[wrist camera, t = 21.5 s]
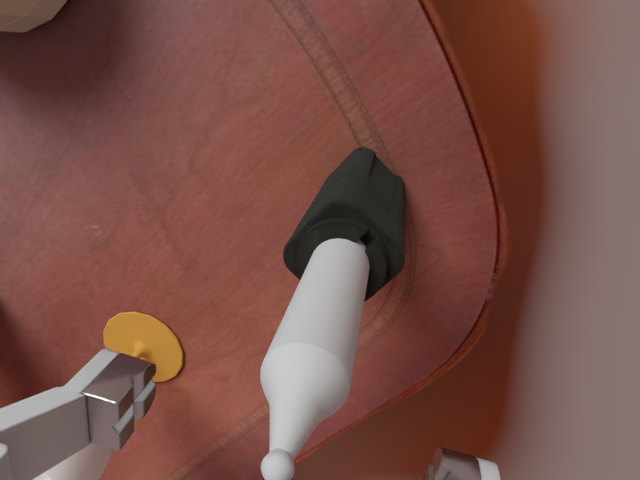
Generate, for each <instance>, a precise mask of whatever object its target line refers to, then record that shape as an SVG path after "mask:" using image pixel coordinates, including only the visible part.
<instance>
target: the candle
mask: <svg viewBox="0 0 640 480" xmlns="http://www.w3.org/2000/svg"><path fill="white" fill-rule="evenodd" d="M404 212H405V187H404V182H403V180H402V178H401V177H400V176H395V175H394V174H393V173H392V172H391V171H390V170H389V169H388V168H387V167H386V166H385V165H384V164H383V163H382V162H381V161H380V160H379V159H378V158H377V157H376V156H375V152H374V151H372V150H371V149H369V148H358V149H356V150H354V151H353V152H352V153H351V154H350V155H349V156H348V157H347V158H346V159H345V160H344V161H343V162H342V163H341V165H340V166H339V167H338V168H337V169H336V170H335V171H334V172H333V173H332V174H331V175H330V176H329V177H328V179H327V180H326V181H325V183H324V185H323V186H322V188H321V189H320V191H319V193H318V194H317V196H316V198H315V199H314V201H313V202H312V204H311V206H310V207H309V209H308V210H307V212H306V214H305V215H304V217H303V218H302V220H301V222H300V223H299V225H298V226H297V228H296V230H295V231H294V233H293V234H292V236H291V238H290V239H289V241H288V242H287V244H286V246H285V248H284V251H283V259H284V263H285V265H286V266H287V268H288V269H289V270H290V271H291V272H292V273H293V274H294V275H295V276H296V277H297V278H299V279H300V282H299V284H298V287H297V289H296V291H295V293H294V295H293V297H292V300H291V302H290V304H289V306H288V308H287V310H286V313H285V315H284V317H283V319H282V321H281V323H280V326H279V328H278V330H277V332H276V334H275V336H274V339H273V341H272V343H271V345H270V347H269V350H268V352H267V354H266V356H265V358H264V361H263V363H262V366H261V372H260V381H261V384H262V388H263V391H264V394H265V396H266V399H267V401H268V403H269V405H270V452H269V453H268V454H267V455H266V456H265V457H264V459H263V461H262V463H261V472H262V475H263V477H264V479H265V480H291V478H292V477H293V475H294V462H293V460H294V458H295V457H296V456H297V454H298V453H299V451H300V450H301V448H302V447H303V445H304V444H305V442H306V441H307V439H308V438H309V436H310V435H311V434H312V432H313V431H314V429H315V428H316V426H317V425H318V423H319V422H321V421H322V420H324V419H326V418H327V417H329V416H331V415H332V414H333V413H335V412H336V411H337V410H338V409H339V408H341V407H342V406H343V404H344V402H345V400H346V398H347V396H348V394H349V391H350V385H351V379H352V373H353V366H354V360H355V354H356V348H357V342H358V336H359V330H360V324H361V318H362V312H363V306H364V302H365V301H366V300H367V299H369V298H370V297H372V296H373V295H374V294H375V293H376V292H377V291H378V290H380V289H381V288H382V287H383V286H384V285H386V284H387V283H388V282H389V281H390V280H392V279H393V278H394V277H395V276H397V274H398V273H399V272H400V271H401V269H402V267H403V265H404Z"/></svg>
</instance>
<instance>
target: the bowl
mask: <svg viewBox="0 0 640 480" xmlns="http://www.w3.org/2000/svg"><path fill="white" fill-rule="evenodd" d="M66 2H67V0H0V33H11V32H27V31H29V30H31V29H33V28H35V27H37V26H39V25H41V24H43V23H45V22H47V21H49V20H51V19H52V18H53V17H54V16H55V15H56V14H57V13H58V11H59V10H60V9H61V8H62V6H63V5H64V4H65V3H66Z"/></svg>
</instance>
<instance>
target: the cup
mask: <svg viewBox="0 0 640 480" xmlns="http://www.w3.org/2000/svg"><path fill="white" fill-rule="evenodd" d="M103 333H104V345H105V347H106V348H107V349H110V350H113V351H117V352H120V353H123V354H127V355H130V356H133V357H136V358H139V359H142V360H145V361H148V362H151V363H154V364H156V374H155V375H154V377H153V378H152V380H153V381H154V382H165V381H167V380H169V379H171V378H173V377H175V376H176V375H177V374H178V372H179V371H180V369H181V367H182V366H183V350H182V347H181V345H180V343H179V340H178V338H177V337H176V336H175V334H174V333H173V332H172V331H171V330H170V329H169V328H168V327H167V325H165V324H164V323H162V322H160V321H159V320H157V319H156V318H154V317H152V316H151V315H147V314H143V313H139V312H135V311H133V312H123V313H119V314H117V315H116V316H114V317H113V318H111V319H110V320H108V323H107V325H106V327H105V329H104V331H103ZM63 387H64V386H62V387H61V388H63ZM112 452H113V449H110V448H106V447H103V446H99V445H95V444H92V443H90V445H89V446H87V447H85V448H84V449H82V450H80V451H79V452H77V453H75V454H74V455H72V456H70V457H69V458H67V459H66V460H64V461H62V462H61V463H59V464H57V465H56V466H54V467H52V468H51V469H49V470H47V471H46V472H44V473H42V474H41V475H39V476H38V477H36V478H34V479H33V480H99V478H100V477H101V475H102V474H103V472H104V470H105V469H106V466H107V464H108V462H109V459H110V457H111V454H112Z"/></svg>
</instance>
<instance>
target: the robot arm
mask: <svg viewBox="0 0 640 480" xmlns="http://www.w3.org/2000/svg"><path fill="white" fill-rule="evenodd" d="M155 374H156V364H154V363H151V362H148V361H145V360H142V359H139V358H136V357H133V356H130V355H127V354H123V353H120V352H117V351H113V350H110V349H107V348H105V349H103V350H101V351H99V352H98V353H97V354H96V355H95V356H94V357H93V358H92V359H91V360H90V361H89V362H88V363H87V364H86V365H85V366H84V367H83V368H82V369H81V370H80V371H79V372H78V373H77V374H76V375H75V376H74V377H73V378H72V379H71V380H70V381H69V382H68V383H67V384H66V385H65V386H64V387H63V388H61V387H55V388H52V389H50V390H47V391H44V392H42V393H39V394H37V395H34V396H32V397H29V398H26V399H24V400H21V401H19V402H16V403H13V404H11V405H8V406H6V407H3V408H1V409H0V480H33V479H34V478H36V477H38V476H39V475H41V474H42V473H44V472H46V471H47V470H49V469H51V468H52V467H54V466H56V465H57V464H59V463H61V462H62V461H64V460H66V459H67V458H69V457H70V456H72V455H74V454H75V453H77V452H79V451H80V450H82V449H84V448H85V447H87V446H89V445H90V443H92V444H95V445H99V446H103V447H106V448H110V449H113V450H117V451H120V450H121V448H122V447H123V445H124V444H125V443H126V441H127V440H128V439H129V437H130V436H131V434H132V433H133V432H134V422H136V421H138V420H140V419H142V418H144V416H145V415H146V413H147V412H148V410H149V409H150V407H151V404H152V402H153V400H154V397H155V392H156V384H155V383H154V381H153V380H152V378H153V377H154V375H155ZM423 480H501V478H500V474H499V470H498V466H497V465H496V463H494V462H490V461H487V460H483V459H480V458H475V457H473V456H470V455H467V454H463V453H460V452H456V451H453V450H449V449H445V448H442V447H438V448H437V449H436V450H435V452H434V455H433V464H432V465H430V466H428V468H427V470H426V473H425V475H424V479H423Z"/></svg>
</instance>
